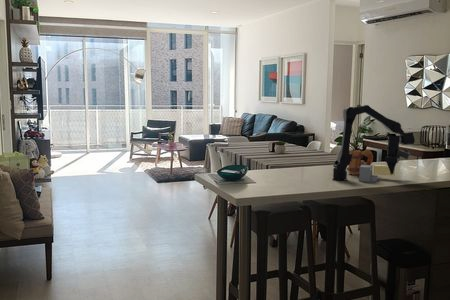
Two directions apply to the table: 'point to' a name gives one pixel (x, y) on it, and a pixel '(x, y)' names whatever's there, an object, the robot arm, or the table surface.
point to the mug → (359, 160)
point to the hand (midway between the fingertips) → (392, 173)
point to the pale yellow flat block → (382, 170)
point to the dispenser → (367, 174)
